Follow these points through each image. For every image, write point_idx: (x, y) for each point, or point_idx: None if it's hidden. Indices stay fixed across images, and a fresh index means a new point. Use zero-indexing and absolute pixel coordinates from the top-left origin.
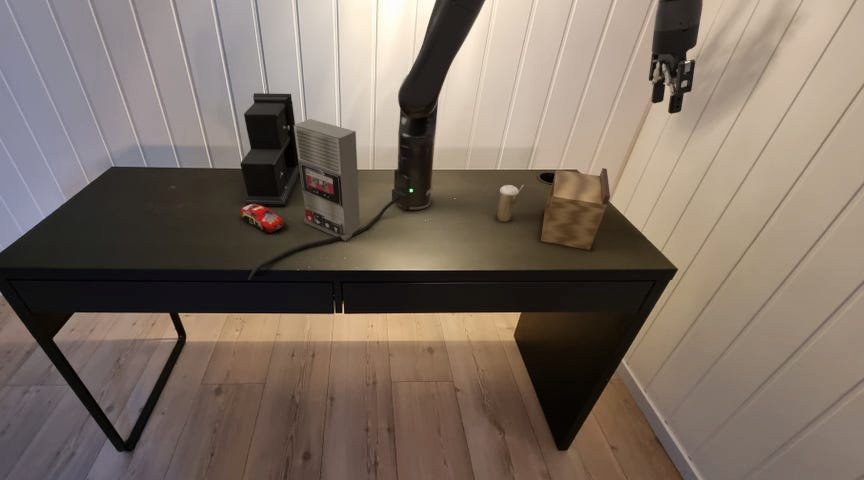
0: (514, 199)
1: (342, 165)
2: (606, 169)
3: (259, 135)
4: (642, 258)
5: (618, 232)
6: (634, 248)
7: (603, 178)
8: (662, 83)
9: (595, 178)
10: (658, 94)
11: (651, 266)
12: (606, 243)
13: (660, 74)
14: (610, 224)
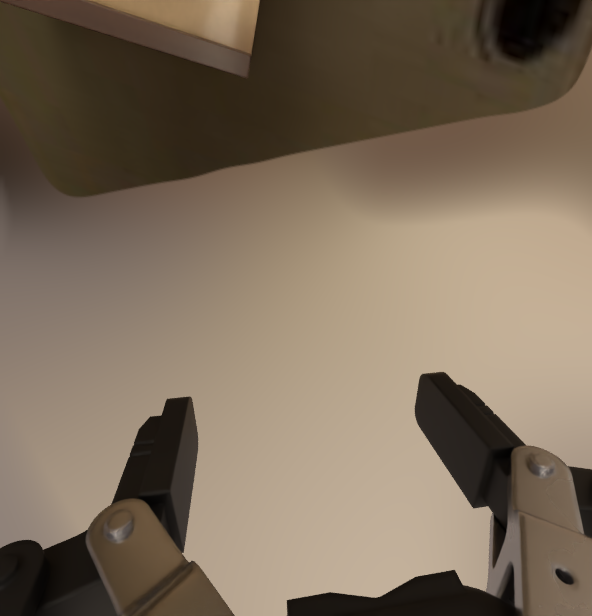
0: None
1: None
2: (237, 73)
3: None
4: (70, 156)
5: (188, 135)
6: (115, 152)
7: (118, 12)
8: (490, 503)
9: (216, 18)
10: (444, 428)
11: (40, 166)
12: (111, 75)
13: (486, 603)
14: (229, 126)
